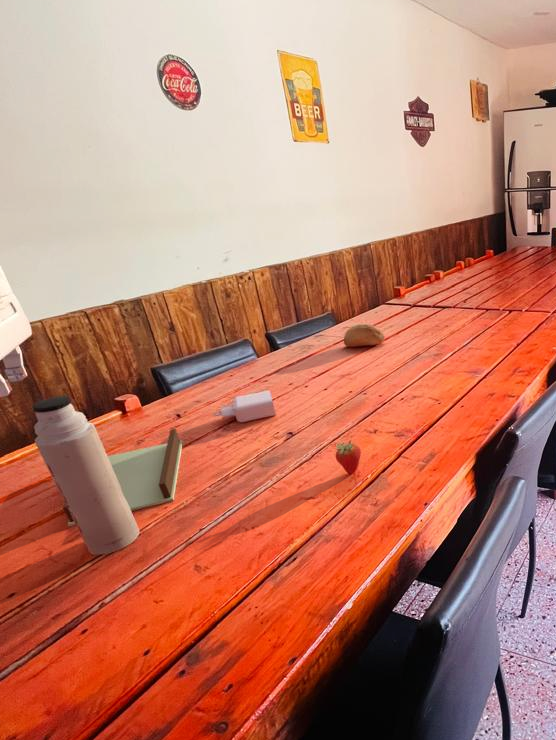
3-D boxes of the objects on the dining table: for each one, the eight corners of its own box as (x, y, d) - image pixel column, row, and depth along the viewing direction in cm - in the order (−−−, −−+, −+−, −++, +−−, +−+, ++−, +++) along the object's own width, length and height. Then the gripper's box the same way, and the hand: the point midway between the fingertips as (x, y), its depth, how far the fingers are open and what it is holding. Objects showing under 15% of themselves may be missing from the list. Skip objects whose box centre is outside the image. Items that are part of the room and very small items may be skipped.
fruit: (335, 472, 111) (328, 440, 107) (357, 463, 114) (351, 431, 110) (346, 481, 107) (339, 448, 104) (368, 471, 110) (363, 439, 107)
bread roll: (384, 347, 187) (381, 326, 183) (343, 351, 185) (339, 330, 182) (385, 339, 196) (382, 319, 192) (345, 343, 194) (342, 322, 190)
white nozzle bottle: (215, 416, 140) (273, 404, 146) (216, 429, 132) (276, 416, 138) (210, 400, 138) (269, 388, 143) (211, 413, 130) (272, 400, 136)
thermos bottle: (85, 560, 89) (11, 416, 76) (92, 534, 95) (25, 398, 83) (137, 545, 92) (75, 404, 79) (141, 521, 98) (84, 387, 86)
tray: (68, 527, 98) (59, 509, 96) (98, 460, 121) (91, 445, 119) (173, 500, 104) (167, 483, 102) (182, 442, 127) (177, 427, 125)
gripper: (-36, 275, 71) (9, 368, 78) (-116, 305, 55) (-50, 420, 61) (20, 270, 74) (59, 360, 80) (-41, 297, 57) (15, 409, 63)
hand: (11, 387), depth 70 cm, fingers open, 5 cm apart
